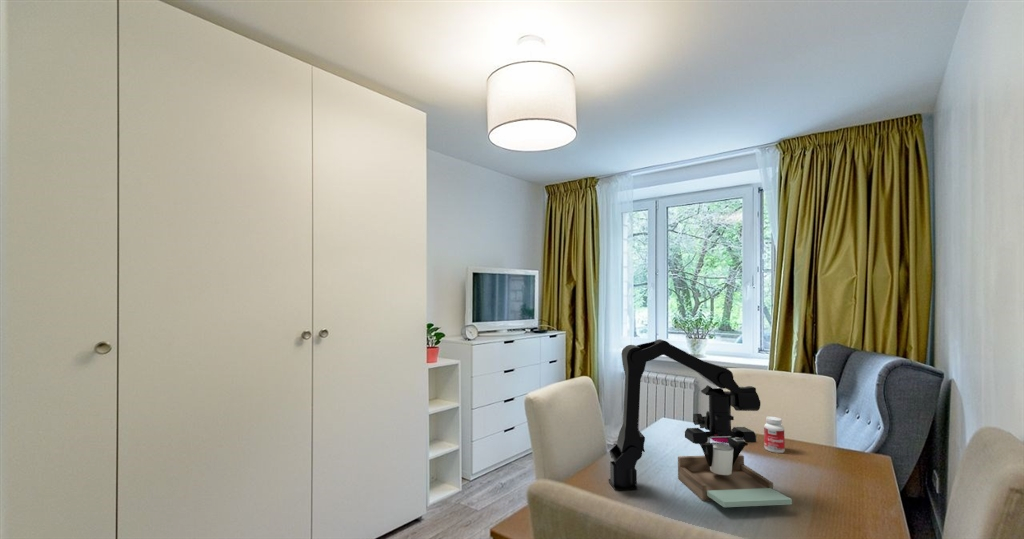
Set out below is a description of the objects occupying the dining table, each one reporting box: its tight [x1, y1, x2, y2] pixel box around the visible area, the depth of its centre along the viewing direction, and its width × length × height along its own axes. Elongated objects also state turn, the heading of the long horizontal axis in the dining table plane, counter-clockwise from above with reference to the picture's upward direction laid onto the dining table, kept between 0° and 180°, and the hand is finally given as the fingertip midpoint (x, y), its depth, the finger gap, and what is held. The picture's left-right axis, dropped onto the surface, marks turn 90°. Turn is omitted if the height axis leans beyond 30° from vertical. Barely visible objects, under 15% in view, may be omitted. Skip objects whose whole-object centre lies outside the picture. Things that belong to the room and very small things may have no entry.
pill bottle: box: [763, 416, 786, 454], centre depth 156 cm, size 6×6×11 cm
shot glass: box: [710, 442, 734, 475], centre depth 127 cm, size 7×7×7 cm
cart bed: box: [677, 453, 774, 502], centre depth 126 cm, size 20×14×6 cm
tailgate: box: [707, 488, 793, 508], centre depth 114 cm, size 18×1×8 cm
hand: (720, 465), depth 127 cm, fingers closed on shot glass, 6 cm apart
